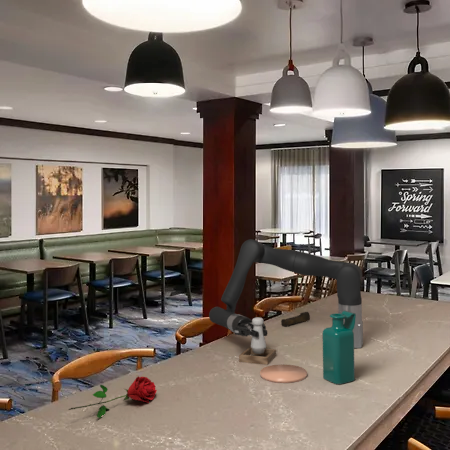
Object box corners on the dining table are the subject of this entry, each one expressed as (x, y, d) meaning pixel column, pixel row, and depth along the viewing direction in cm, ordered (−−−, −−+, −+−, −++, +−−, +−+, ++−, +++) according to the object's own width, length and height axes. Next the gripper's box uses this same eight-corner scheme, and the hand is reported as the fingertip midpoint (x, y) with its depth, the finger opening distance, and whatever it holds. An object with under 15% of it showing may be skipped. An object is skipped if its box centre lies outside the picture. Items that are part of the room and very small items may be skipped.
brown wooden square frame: (276, 355, 199) (276, 349, 199) (267, 364, 189) (267, 357, 189) (249, 353, 203) (249, 347, 203) (239, 361, 193) (239, 355, 193)
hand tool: (286, 328, 242) (286, 318, 242) (280, 326, 245) (280, 316, 245) (313, 321, 254) (313, 312, 254) (307, 320, 257) (307, 310, 257)
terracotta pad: (311, 369, 182) (311, 367, 182) (300, 385, 167) (300, 382, 167) (268, 365, 188) (268, 362, 188) (253, 379, 173) (253, 377, 173)
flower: (75, 387, 139) (160, 367, 162) (58, 396, 145) (143, 376, 167) (83, 421, 136) (168, 396, 159) (65, 429, 142) (150, 404, 164)
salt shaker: (250, 350, 199) (249, 316, 198) (265, 349, 199) (263, 315, 198) (252, 354, 193) (251, 320, 192) (267, 353, 193) (266, 319, 192)
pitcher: (337, 385, 166) (336, 318, 165) (320, 377, 174) (319, 313, 173) (360, 380, 171) (359, 314, 170) (343, 372, 178) (342, 309, 177)
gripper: (223, 317, 205) (245, 326, 189) (254, 313, 211) (277, 321, 196) (224, 336, 205) (246, 347, 190) (255, 331, 212) (278, 340, 196)
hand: (262, 334), depth 193 cm, fingers closed on salt shaker, 3 cm apart
